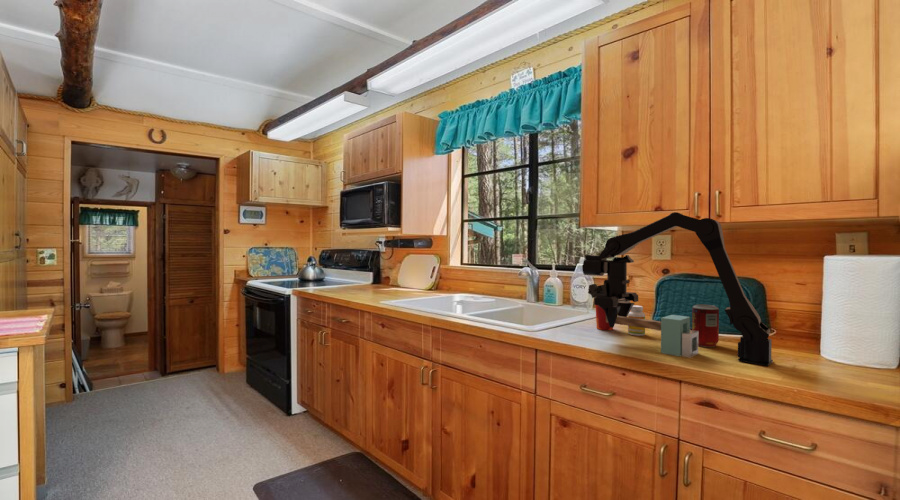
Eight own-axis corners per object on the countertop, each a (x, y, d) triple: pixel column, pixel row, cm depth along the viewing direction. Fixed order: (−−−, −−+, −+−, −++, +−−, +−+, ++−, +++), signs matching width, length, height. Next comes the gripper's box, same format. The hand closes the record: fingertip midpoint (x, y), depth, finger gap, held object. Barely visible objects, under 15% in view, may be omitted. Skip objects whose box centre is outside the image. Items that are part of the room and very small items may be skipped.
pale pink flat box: (698, 353, 120) (698, 331, 120) (690, 357, 116) (690, 334, 116) (689, 352, 122) (690, 330, 122) (681, 356, 117) (681, 333, 117)
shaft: (670, 330, 123) (670, 322, 123) (667, 331, 122) (667, 323, 122) (609, 321, 137) (609, 314, 137) (605, 322, 136) (605, 315, 135)
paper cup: (620, 329, 153) (621, 291, 152) (603, 331, 150) (604, 292, 150) (605, 326, 160) (605, 289, 160) (589, 327, 157) (589, 289, 157)
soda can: (724, 347, 127) (724, 306, 127) (704, 348, 126) (704, 307, 126) (705, 342, 134) (706, 303, 134) (686, 343, 133) (686, 304, 133)
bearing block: (689, 351, 122) (690, 316, 122) (679, 356, 117) (680, 320, 117) (671, 348, 126) (671, 314, 126) (660, 352, 120) (661, 317, 120)
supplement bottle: (646, 336, 142) (647, 307, 142) (629, 335, 143) (630, 307, 143) (642, 333, 148) (643, 305, 147) (626, 332, 149) (626, 304, 148)
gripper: (606, 274, 146) (606, 319, 146) (578, 276, 133) (578, 326, 134) (639, 275, 138) (638, 323, 138) (612, 279, 125) (612, 331, 125)
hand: (616, 325), depth 134 cm, fingers open, 6 cm apart
